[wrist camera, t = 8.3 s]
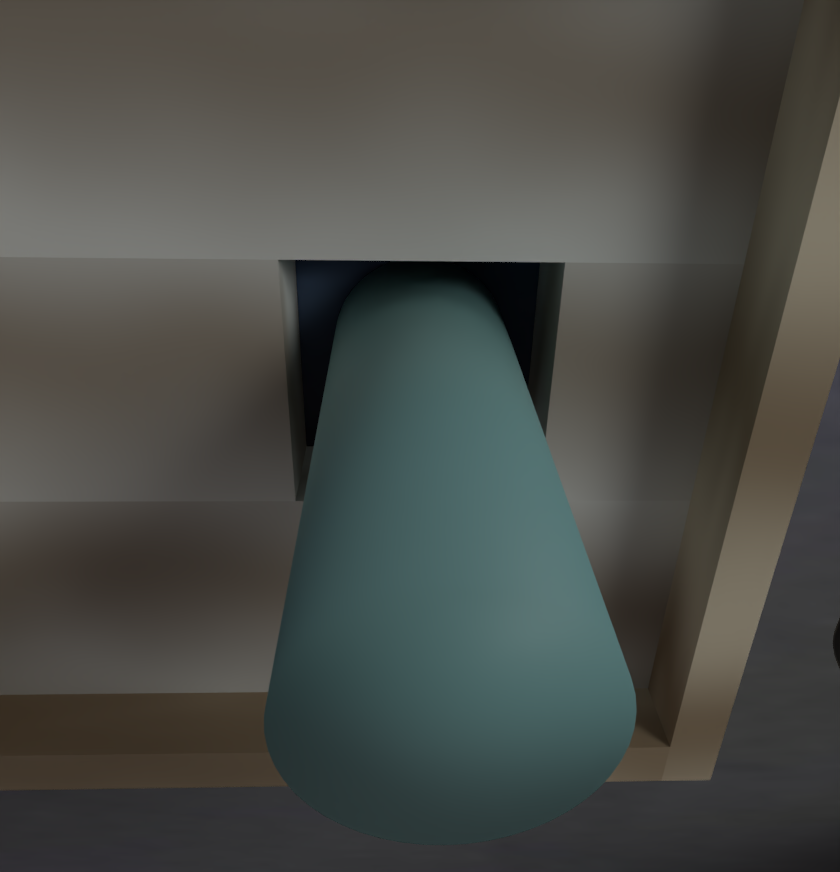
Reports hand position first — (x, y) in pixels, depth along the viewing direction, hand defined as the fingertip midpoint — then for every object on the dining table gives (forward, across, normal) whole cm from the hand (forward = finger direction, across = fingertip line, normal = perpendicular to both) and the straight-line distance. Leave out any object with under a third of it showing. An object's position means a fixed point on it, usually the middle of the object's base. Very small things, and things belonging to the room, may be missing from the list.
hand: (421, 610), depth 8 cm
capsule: (+8, 0, 0) cm, 8 cm away
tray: (+8, +2, 0) cm, 8 cm away
